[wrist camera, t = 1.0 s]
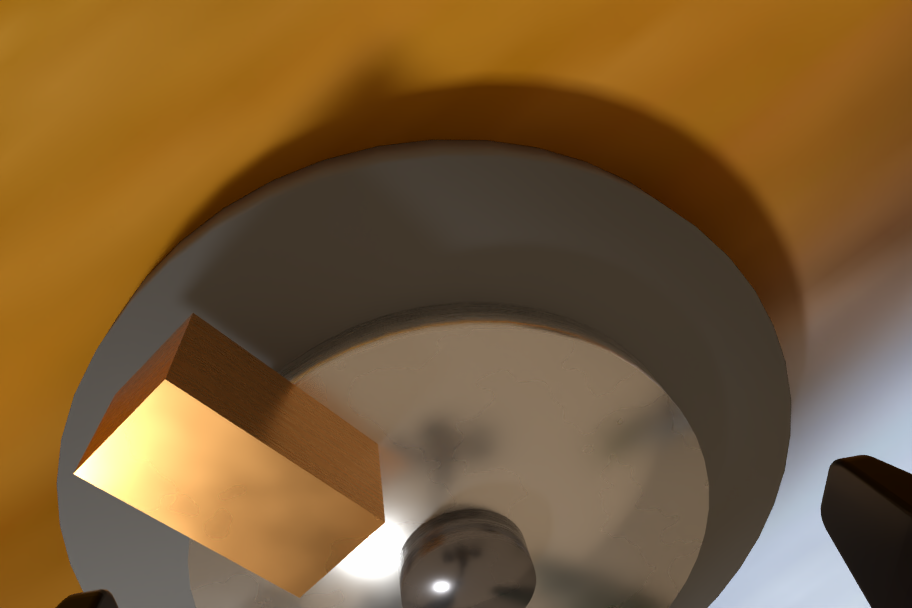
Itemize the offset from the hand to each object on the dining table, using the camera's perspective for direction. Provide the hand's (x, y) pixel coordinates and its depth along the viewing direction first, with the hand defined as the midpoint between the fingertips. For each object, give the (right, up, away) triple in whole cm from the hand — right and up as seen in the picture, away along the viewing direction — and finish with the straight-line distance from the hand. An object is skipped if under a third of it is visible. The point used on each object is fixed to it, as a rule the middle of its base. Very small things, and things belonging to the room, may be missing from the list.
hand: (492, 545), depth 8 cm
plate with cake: (-2, -3, +14) cm, 14 cm away
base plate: (-1, -3, +16) cm, 17 cm away
